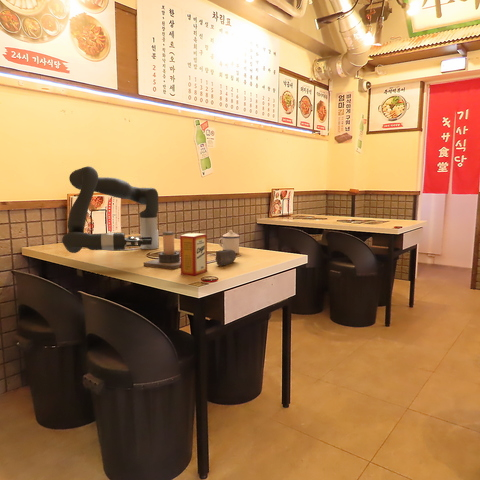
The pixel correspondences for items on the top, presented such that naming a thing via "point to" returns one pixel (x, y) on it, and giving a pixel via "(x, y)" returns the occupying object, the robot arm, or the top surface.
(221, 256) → the perforated stone tool
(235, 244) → the teacup with lid
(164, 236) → the tan cylinder
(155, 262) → the socket board
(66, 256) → the top surface
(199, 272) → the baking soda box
